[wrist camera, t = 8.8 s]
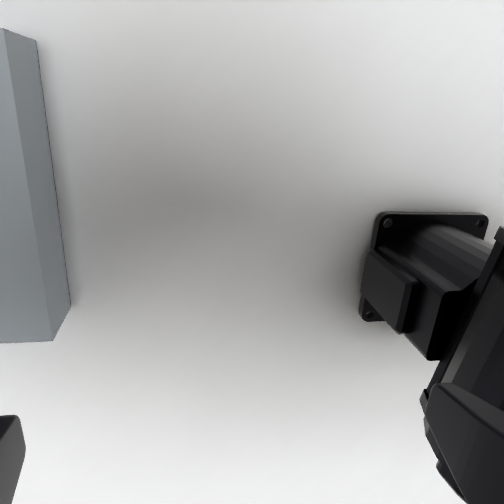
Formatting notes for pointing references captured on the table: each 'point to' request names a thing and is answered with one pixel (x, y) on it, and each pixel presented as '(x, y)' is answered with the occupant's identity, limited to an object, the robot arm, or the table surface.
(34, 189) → the grey base
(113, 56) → the table surface
